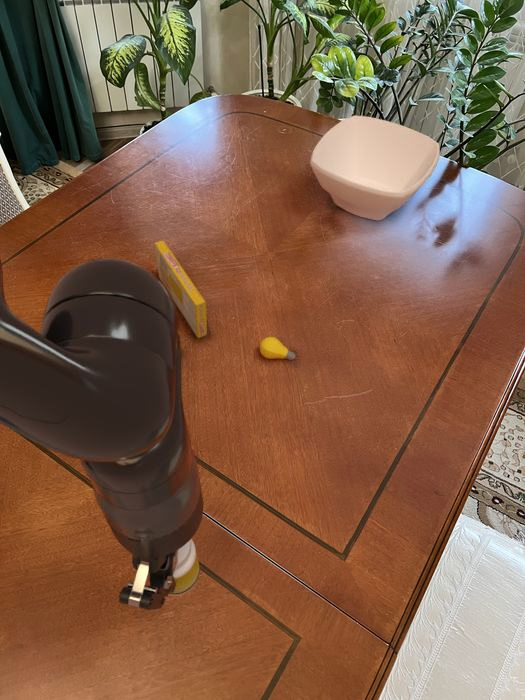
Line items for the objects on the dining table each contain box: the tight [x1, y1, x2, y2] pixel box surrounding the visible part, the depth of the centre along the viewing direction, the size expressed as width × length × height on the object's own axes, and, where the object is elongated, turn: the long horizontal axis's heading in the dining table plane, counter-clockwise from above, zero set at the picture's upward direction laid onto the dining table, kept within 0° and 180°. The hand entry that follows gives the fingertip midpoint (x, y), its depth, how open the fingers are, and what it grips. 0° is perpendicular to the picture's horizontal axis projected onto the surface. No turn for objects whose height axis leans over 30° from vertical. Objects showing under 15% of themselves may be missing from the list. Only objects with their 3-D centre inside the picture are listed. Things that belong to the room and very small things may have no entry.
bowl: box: [309, 114, 441, 221], centre depth 111 cm, size 22×22×12 cm
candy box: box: [154, 239, 208, 339], centre depth 95 cm, size 16×2×8 cm, turn 30°
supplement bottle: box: [168, 538, 201, 596], centre depth 56 cm, size 5×5×8 cm
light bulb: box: [259, 336, 296, 361], centre depth 91 cm, size 3×6×4 cm, turn 76°
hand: (172, 559), depth 56 cm, fingers closed on supplement bottle, 4 cm apart
